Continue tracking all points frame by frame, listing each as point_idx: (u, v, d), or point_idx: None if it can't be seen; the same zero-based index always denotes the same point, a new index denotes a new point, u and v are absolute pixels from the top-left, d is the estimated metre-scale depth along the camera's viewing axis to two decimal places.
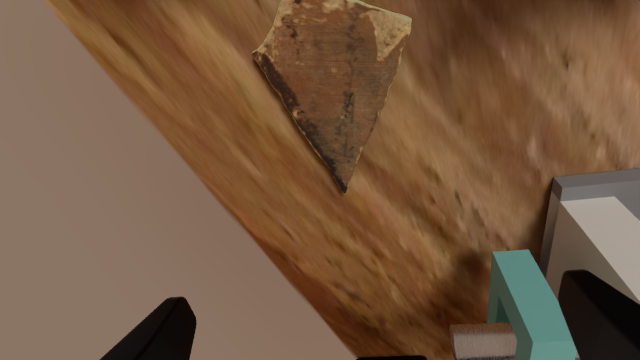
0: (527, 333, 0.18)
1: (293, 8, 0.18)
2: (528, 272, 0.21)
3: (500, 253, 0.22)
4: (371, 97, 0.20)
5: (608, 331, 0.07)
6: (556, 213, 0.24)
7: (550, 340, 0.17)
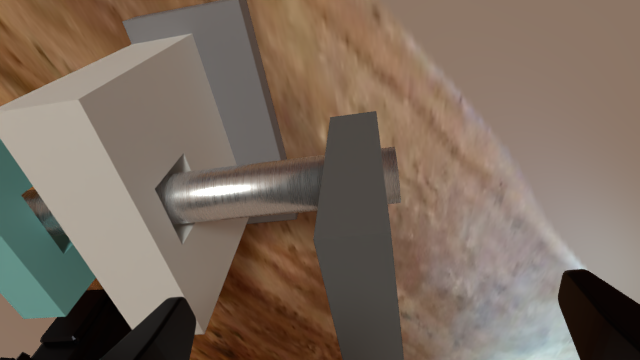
0: None
1: None
2: None
3: None
4: None
5: (608, 331, 0.07)
6: None
7: None
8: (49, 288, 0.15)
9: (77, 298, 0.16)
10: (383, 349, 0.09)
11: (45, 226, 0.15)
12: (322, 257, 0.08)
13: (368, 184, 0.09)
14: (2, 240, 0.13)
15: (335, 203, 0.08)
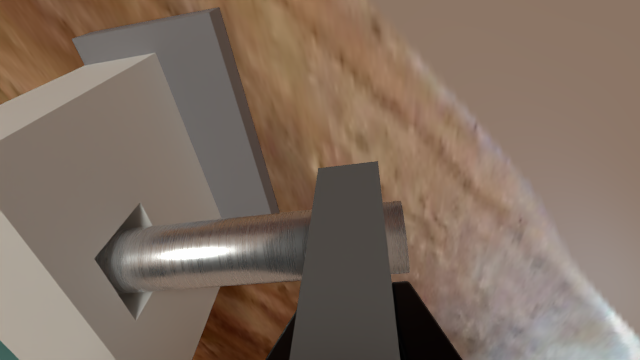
0: None
1: None
2: None
3: None
4: None
5: (399, 340, 0.07)
6: None
7: None
8: None
9: None
10: None
11: None
12: None
13: (368, 299, 0.06)
14: None
15: (318, 338, 0.05)
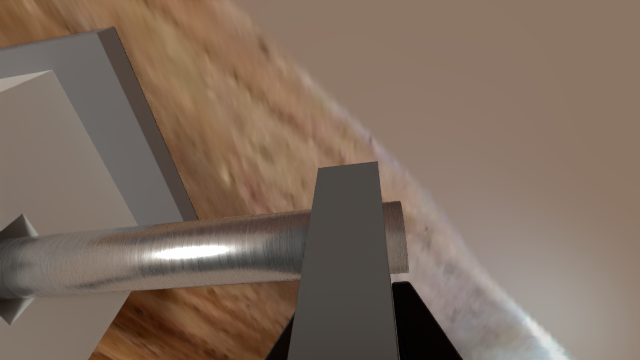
0: None
1: None
2: None
3: None
4: None
5: (399, 340, 0.07)
6: None
7: None
8: None
9: None
10: None
11: None
12: None
13: (367, 299, 0.06)
14: None
15: (317, 337, 0.05)
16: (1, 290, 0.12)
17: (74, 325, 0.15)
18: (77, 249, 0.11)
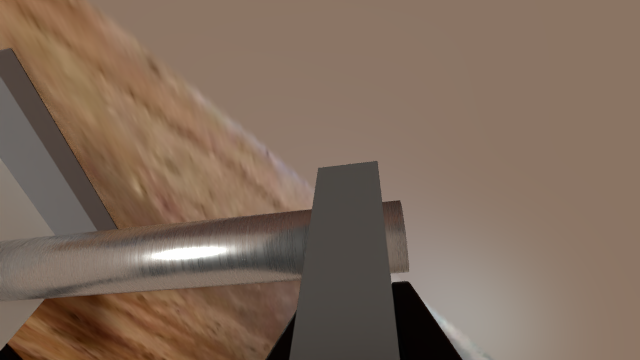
0: None
1: None
2: None
3: None
4: None
5: (399, 340, 0.07)
6: None
7: None
8: None
9: None
10: None
11: None
12: None
13: (368, 298, 0.06)
14: None
15: (319, 335, 0.05)
16: (1, 292, 0.12)
17: None
18: (77, 250, 0.11)
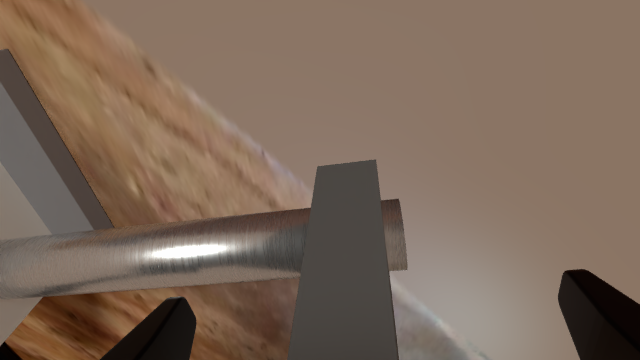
0: None
1: None
2: None
3: None
4: None
5: (608, 331, 0.07)
6: None
7: None
8: None
9: None
10: None
11: None
12: None
13: (366, 294, 0.06)
14: None
15: (317, 331, 0.06)
16: (2, 290, 0.12)
17: None
18: (78, 249, 0.11)
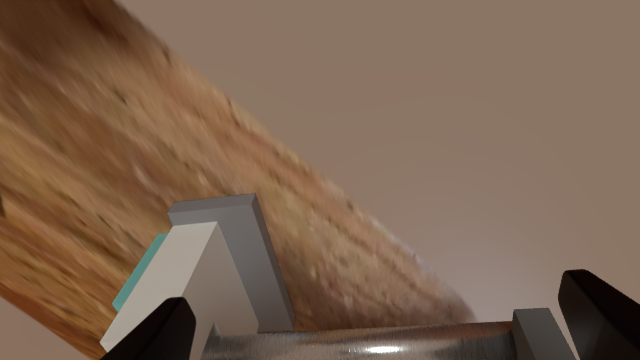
0: None
1: None
2: None
3: (162, 235, 0.26)
4: None
5: (608, 331, 0.07)
6: None
7: (124, 301, 0.21)
8: None
9: None
10: None
11: None
12: None
13: None
14: None
15: None
16: None
17: None
18: (355, 346, 0.19)
